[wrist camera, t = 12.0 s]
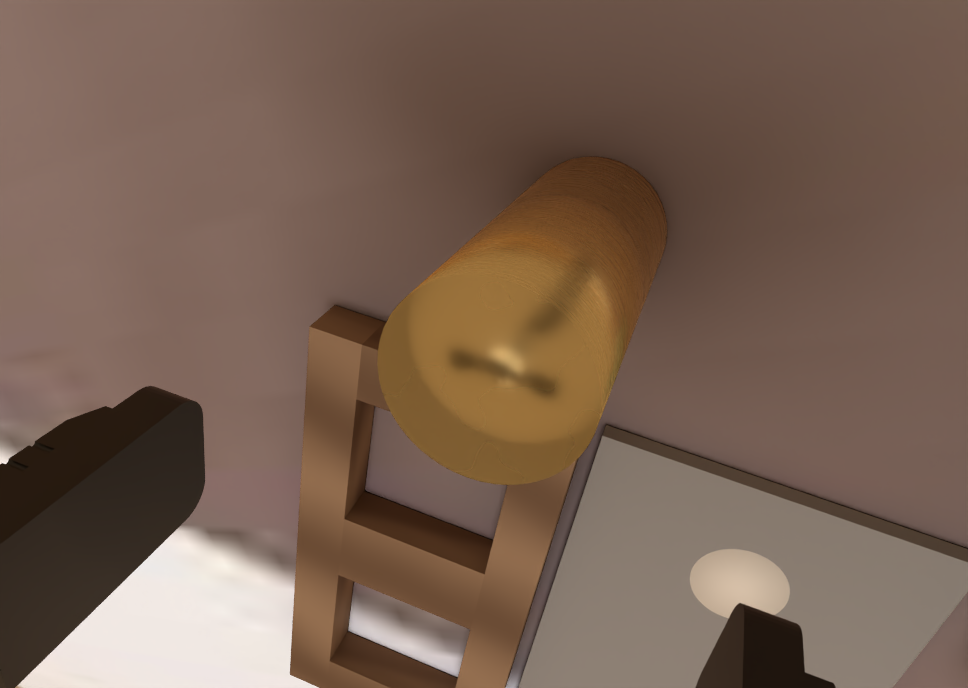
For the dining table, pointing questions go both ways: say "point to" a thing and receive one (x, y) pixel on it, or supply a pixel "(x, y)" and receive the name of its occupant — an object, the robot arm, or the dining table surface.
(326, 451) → the walnut frame
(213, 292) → the dining table surface
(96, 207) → the dining table surface
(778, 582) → the grey mat
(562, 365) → the brass pin
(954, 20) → the dining table surface
